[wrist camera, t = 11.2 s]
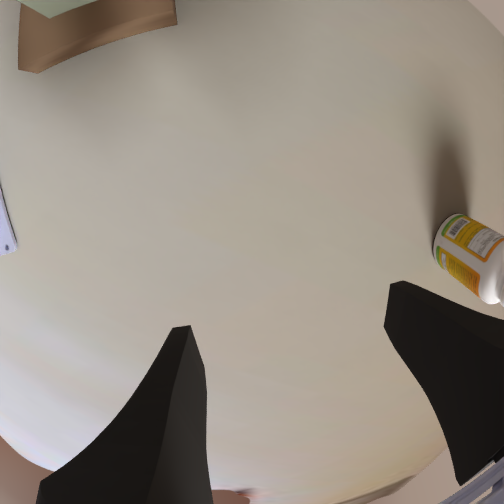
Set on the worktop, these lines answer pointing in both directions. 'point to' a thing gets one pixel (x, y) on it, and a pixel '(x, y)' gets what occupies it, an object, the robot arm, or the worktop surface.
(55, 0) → the sage-green block
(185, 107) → the worktop surface
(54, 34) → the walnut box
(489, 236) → the supplement bottle
